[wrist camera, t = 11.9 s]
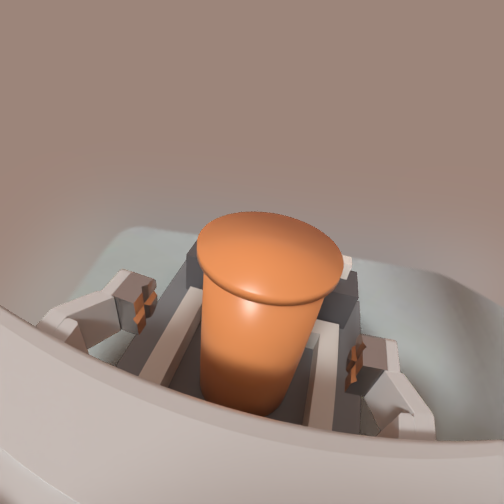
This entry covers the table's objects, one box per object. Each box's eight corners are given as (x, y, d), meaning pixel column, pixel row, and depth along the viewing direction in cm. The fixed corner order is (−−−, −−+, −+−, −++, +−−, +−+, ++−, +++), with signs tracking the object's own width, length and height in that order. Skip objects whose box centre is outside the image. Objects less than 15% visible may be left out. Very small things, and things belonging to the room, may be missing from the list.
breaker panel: (186, 268, 26) (188, 211, 23) (355, 310, 24) (378, 258, 21) (32, 535, 7) (-27, 516, 4) (319, 625, 5) (369, 644, 2)
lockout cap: (241, 332, 20) (262, 201, 15) (309, 382, 17) (366, 254, 12) (174, 378, 16) (166, 237, 11) (246, 444, 13) (286, 324, 8)
